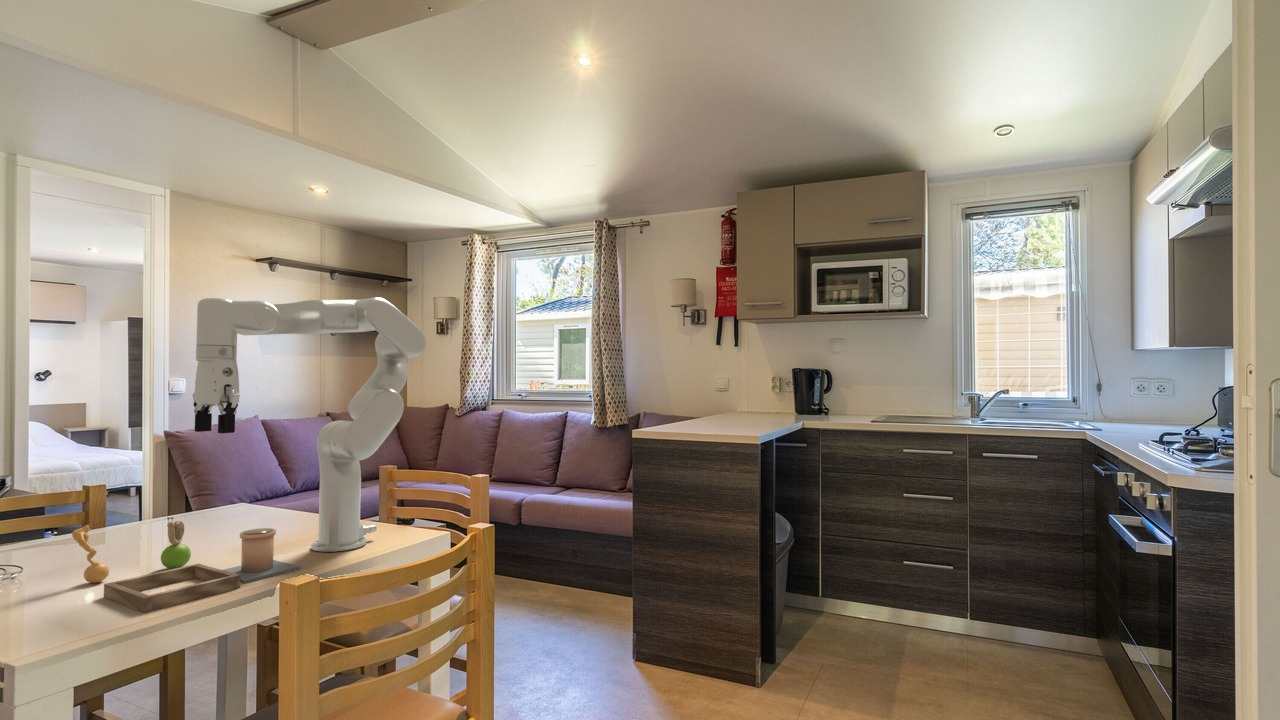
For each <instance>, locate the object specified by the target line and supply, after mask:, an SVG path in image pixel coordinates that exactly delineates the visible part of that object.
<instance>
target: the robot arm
mask: <svg viewBox="0 0 1280 720" xmlns="http://www.w3.org/2000/svg"><path fill="white" fill-rule="evenodd" d="M196 311H197V312H196V340H195V341H196V346H195V361H196V362H197V365H196V373H195V384H194V392H193V394H192V399H193V403H192V404H193V407H194V410H193V412H194V432H195V433H197V432H198V433H201V432H202V433H203V432H211V431H212V427H213V426H212V425H213V423H212V422H213V419H212V418H213V415H212V412H211V411H212V408H213V407H214V406H217V408H218V411H219V413H220V414H218V415H217V417H218V418H217V433H218V434H231V433H232V434H234V433H235V432H236V414H237V409H238V406H239V403H240V397H241V396H240V377H239V369H238V363H237V362H238V361H237V358H238V356H237V355H238V353H237V351H238V350H237V349H238V335H242V336H264V335H265V336H266V335H267V336H269V335H289V334H290V335H292V334H294V335H295V334H297V335H298V334H299V335H317V334H323V335H324V334H340V333H342V334H343V333H365V332H374V331H376V332H377V333H378V334H377V336H376V338H375V341H374V347H375V353H376V357H377V364H376V368H375V369H374V371H373V373H372V374H371V376H370V377H369V378H368V379H367V380H366V381H365V382H364V384H363V385H362V386H361V387H360V389H359V390H358V391H357V392H356V394H355V395H354V396H353V397H352V399H351V400H350V402H349V404H348V414H349V417H351V419H353V420H342V419H340V420H334V421H331V422H329V423H327V424H325V425H324V426H323V427H322V428H321V430H319V432H318V435H317V439H316V448H317V454H318V455H317V456H318V465H319V488H318V489H319V492H318V494H319V498H318V499H319V502H318V509H319V510H318V538H317V539H318V540H315V541H313V542H311V544H310V548H311V550H313V551H316V552H320V553H321V552H325V553H329V552H335V553H336V552H343V551H349V550H350V551H351V550H354V549H355V550H356V549H358V548H361V547H363V546H365V545H366V544H367V538H366V537H364V536H365V535H367V534H371V533H375V532H377V525H376V524H370V525H367V526H366V525H365V524H361V498H362V497H361V489H362V488H361V487H362V472H361V471H362V470H361V464H360V461H363V460H366V459H368V458H370V457H371V456H372V455H374V454H375V452H377V450H378V449H379V448H380V447H381V445H382V444H383V443H384V441H385V440H386V439H387V438H388V436H389V435H390V434H391V433H392V432H393V430H394V429H395V427H396V426H397V425H398V423H399V422H400V420H401V418H402V416H403V413H404V408H405V404H404V399H403V397H402V396H401V394H400V392H401V391H402V390H403V388H404V387H405V385H406V382H407V380H408V377H409V376H408V375H409V370H408V361H407V359H413V358H417V357H418V356H421V355H422V353H424V351H425V350H426V346H427V339H426V336H425V334H424V332H423V331H422V330H421V328H419V326H417V325H416V324H415V323H414V322H413V321H412V320H411V319H410V318H409V317H408V316H407V315H405V314H404V313H403V312H402V311H401V310H400V309H398V308H397V307H396V306H395V305H394V304H392V303H391V302H389V301H388V300H386V299H385V298H383V297H379V296H378V297H370V298H363V299H362V298H361V299H321V298H320V299H310V300H309V299H307V300H301V301H297V302H290V303H289V302H288V303H273V304H271V302H270V303H269V302H267V301H264V300H247V301H246V300H232V299H228V298H219V297H218V298H217V297H216V298H215V297H206V298H202V299H200V300H199V301H198V303H197V310H196Z"/></svg>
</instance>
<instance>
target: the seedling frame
mask: <svg viewBox="0 0 1280 720" xmlns="http://www.w3.org/2000/svg"><path fill="white" fill-rule="evenodd" d="M191 579H198V580H200V581H201V580H202V581H203V582H199V583H195V584H191V585H186V586H182V587H179V588H174V589H170V590H166V591H162V592H161V591H160V592H157V593H153V594H146V593H144V592H140V591H144V590H148V589H152V588H157V587H161V586H165V585H169V584H174V583H178V582H182V581H186V580H191ZM240 588H241V583H240V575H239V574H235V573H231V572H228V571H224V570H223V569H220V568H216V567H212V566H208V565H204V564H203V563H195V564H191V565H184V566H182V567H180V568H176V569H168V570H163V571H158V572H153V573H149V574H144V575H139V576H136V577H131V578H130V577H129V578H125V579H121V580H116V581H111V582H106V583H104V584H103V598H104V599H107V600H110V601H112V602H115V603H118V604H120V605H123V606H124V607H125V606H126V607H128V608H131V609H133V610H135V611H139V612H141V613H149V612H151V611H154V610H156V611H157V610H159V609H162V608H167V607H171V606H175V605H179V604H182V603H185V602H190V601H193V600H197V599H201V598H205V597H209V596H213V595H217V594H220V593H223V592H224V593H225V592H229V591H233V590H237V589H240Z"/></svg>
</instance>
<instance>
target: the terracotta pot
mask: <svg viewBox="0 0 1280 720" xmlns="http://www.w3.org/2000/svg"><path fill="white" fill-rule="evenodd" d="M276 535H277V529H276V528H271V527H268V528H267V527H264V528H263V527H262V528H254V529H253V528H252V529H248V530H244V531H241V532H240V533H239V539H241V555H240V556H241V561H240V566H241V572H243V573H256V572H263V571H267V570H270V569H272V568H273V560H274V555H275V554H274V552H275V551H274V550H275V549H274V546H275V540H274V539H275V536H276Z"/></svg>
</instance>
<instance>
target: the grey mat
mask: <svg viewBox="0 0 1280 720" xmlns="http://www.w3.org/2000/svg"><path fill="white" fill-rule="evenodd" d="M300 569H301V566H299V565H296V564H291V563H287V562H283V561H280V560H275V559H273V568H272V569H270V570H267V571H263V572H256V573H243V572H241V565H237V566H232V567H228V568H224V569H222V570H224V571H228V572H231V573H235V574H239V575H240V584H247V583H251V582H254V581H259V580H263V579H267V578H270V577H275V576H278V575H282V574H283V575H284V574H286V573H290V572H294V571H298V570H300Z"/></svg>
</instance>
